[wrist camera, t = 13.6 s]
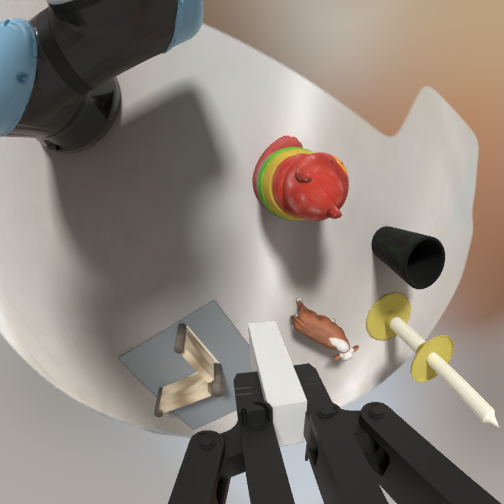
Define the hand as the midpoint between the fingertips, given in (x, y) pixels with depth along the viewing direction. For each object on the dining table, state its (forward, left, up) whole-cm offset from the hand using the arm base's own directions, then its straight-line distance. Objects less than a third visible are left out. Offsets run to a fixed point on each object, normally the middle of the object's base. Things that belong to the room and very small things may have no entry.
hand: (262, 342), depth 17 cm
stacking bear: (-2, +11, -31) cm, 33 cm away
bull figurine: (+21, +4, -31) cm, 38 cm away
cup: (+16, +21, -31) cm, 40 cm away
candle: (+30, +16, -31) cm, 46 cm away
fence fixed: (+14, -15, -30) cm, 37 cm away
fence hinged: (+18, -22, -30) cm, 41 cm away
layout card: (+19, -19, -31) cm, 41 cm away
